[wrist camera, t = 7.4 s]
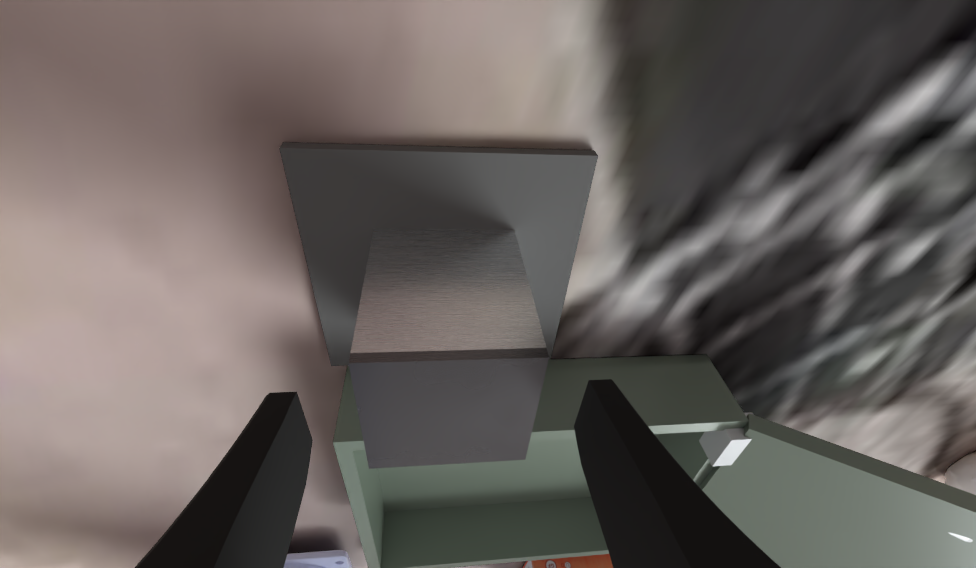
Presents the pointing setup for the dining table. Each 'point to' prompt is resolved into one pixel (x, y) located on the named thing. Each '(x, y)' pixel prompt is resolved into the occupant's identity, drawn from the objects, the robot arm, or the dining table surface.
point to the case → (699, 451)
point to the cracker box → (573, 562)
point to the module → (446, 349)
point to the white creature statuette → (963, 474)
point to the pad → (433, 214)
